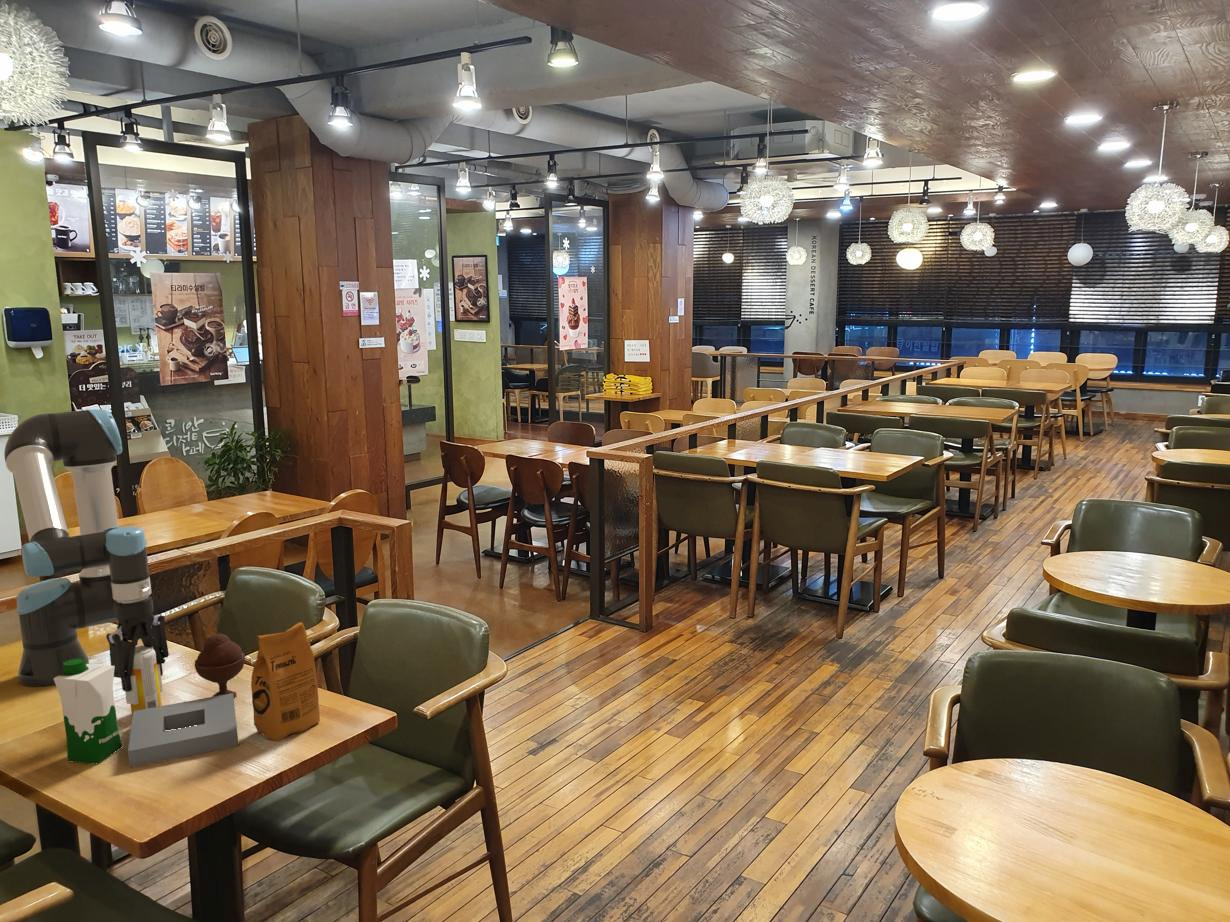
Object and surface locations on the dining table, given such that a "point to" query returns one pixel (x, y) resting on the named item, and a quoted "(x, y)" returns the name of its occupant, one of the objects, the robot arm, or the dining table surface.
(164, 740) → the socket holder
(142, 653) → the beer can
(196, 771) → the dining table surface
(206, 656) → the ice cream bowl
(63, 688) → the milk carton
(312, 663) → the coffee package
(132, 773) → the dining table surface
